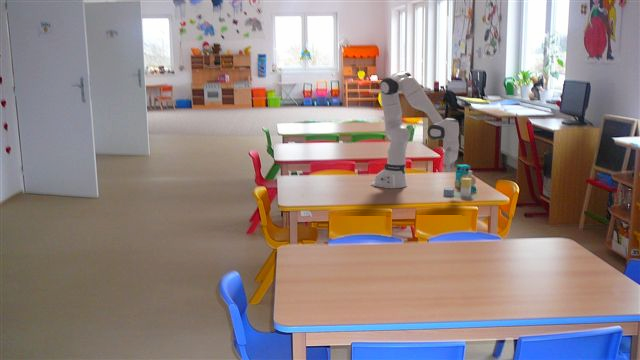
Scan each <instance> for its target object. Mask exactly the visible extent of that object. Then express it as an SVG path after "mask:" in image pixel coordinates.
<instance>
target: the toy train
mask: <svg viewBox="0 0 640 360" xmlns="http://www.w3.org/2000/svg"><path fill="white" fill-rule="evenodd" d="M458 168H460V169H458ZM467 169H468V171H467ZM462 178H472V181H471V193H472V192H477V191H478V190H477V187H476V186H475V185H476V182H477V181H476V178H475V176H473V170H471V165H468V164H465V163H464V164H456V166H455V179H454V187H455V188H457V189H460V190H461V179H462Z"/></svg>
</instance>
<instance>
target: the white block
mask: <svg viewBox="0 0 640 360" xmlns="http://www.w3.org/2000/svg"><path fill="white" fill-rule="evenodd" d="M471 194H472V192H471V187H470V188H461V189H460V196H467V197H469V196H470V195H471Z"/></svg>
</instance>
